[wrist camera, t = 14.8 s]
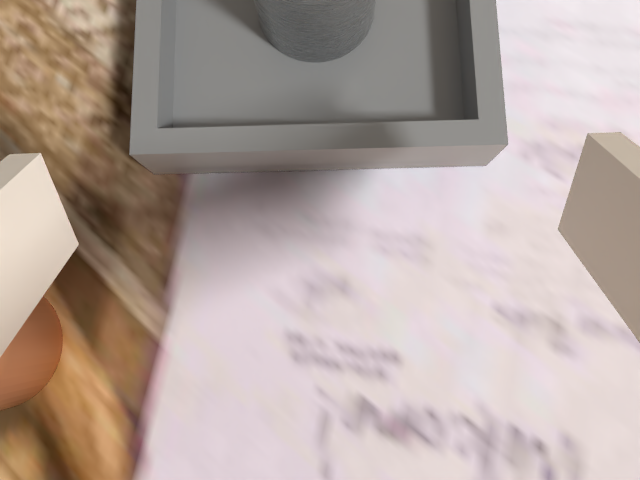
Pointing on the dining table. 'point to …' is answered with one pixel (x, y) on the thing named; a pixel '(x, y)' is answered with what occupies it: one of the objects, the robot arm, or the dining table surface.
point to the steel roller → (315, 26)
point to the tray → (315, 91)
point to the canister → (30, 356)
